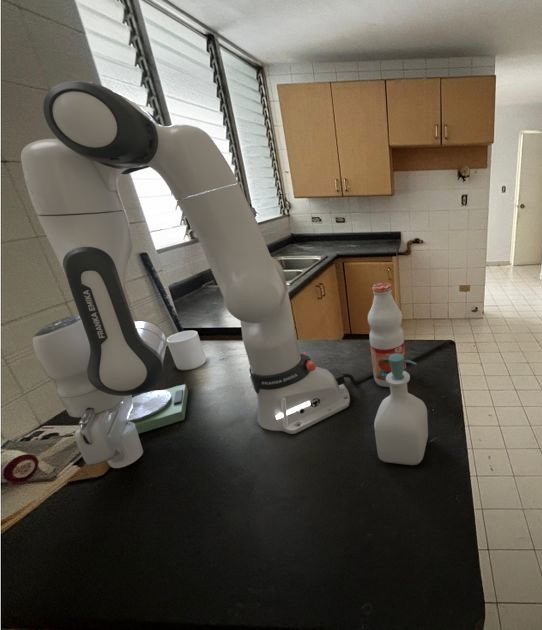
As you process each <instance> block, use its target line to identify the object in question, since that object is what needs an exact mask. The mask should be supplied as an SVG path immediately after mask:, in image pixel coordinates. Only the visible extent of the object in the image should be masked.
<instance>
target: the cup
mask: <svg viewBox="0 0 542 630" xmlns="http://www.w3.org/2000/svg"><path fill="white" fill-rule="evenodd" d="M166 338H167V344H166V345H167V347H168V349H169V352H170V354H171V357H172V359H173V362H174V365H175V367H176V368H177V370H178V371H190V370H193V369H197V368H199V367H201V366H203V365H204V364H205V363H206V361H207V356H206V354H205V351H204V347H203V345H202V342H201V339H200V336H199V334H198V331H196V330H183V331H179V332H175V333H174V334H171V335H169V336H168V337H166Z"/></svg>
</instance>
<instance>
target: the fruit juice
mask: <svg viewBox="0 0 542 630" xmlns="http://www.w3.org/2000/svg"><path fill="white" fill-rule="evenodd" d="M392 291H393V286H392V284H391V283H388V282H380V283H375V284H373V285H372V293H373V299H372V305H371V308H370V309H369V311H368V313H367V323H368V326H369V329H370V330H369V335H368V337H369V338H368V339H369V347H370V356H371V365H372V372H373V374H374V376H373V379H374V382H375V384H377V386H380V387H383V388H390V384H388V383H387V382H386V376H387V375H388V374H389V373H391V372H392V371H391V367H390V363H389V356H390V355H392V354H402V355H403V356H404V360H407V359H406V346H405V344H406V343H405V333H404V330H403V328H402V322H403V315H402V314H403V313H402V311H401V310H400V308H399V307H398V305H397V304H396V302H395V299H394V297H393V295H392ZM403 371H405V372H407V373H408V371H407V364H406V363H405V362H404V364H403Z"/></svg>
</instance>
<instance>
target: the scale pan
mask: <svg viewBox="0 0 542 630" xmlns="http://www.w3.org/2000/svg"><path fill="white" fill-rule="evenodd" d="M164 390H165V389H159V390H151V391H145V392H142V393H139V394H136V395H134V396H133V397H132V399H133V406H132V409H131V412H130V414H129V417H128V420H127V421H128V422H133V421H137V420H140V419H143V418H146V417H148V416H151V415H153V414H155V413H157V412H158V411H160V410H161V409H163V408H164V407H165V406H167V405H168V403H169V402H170V401H171V398H172V396H171V394H170V393H169V392H168V391H164Z"/></svg>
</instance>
